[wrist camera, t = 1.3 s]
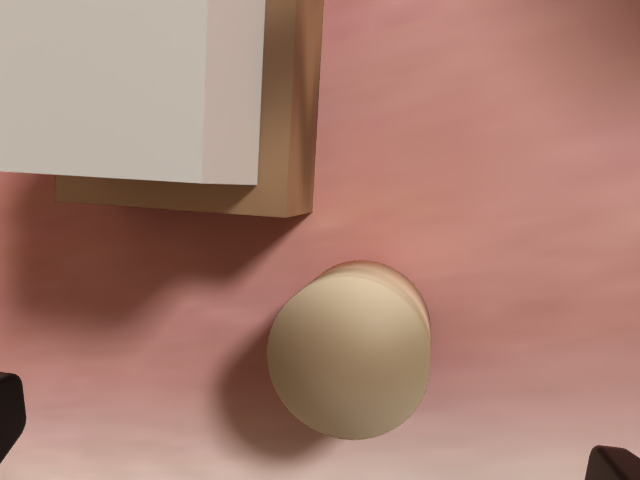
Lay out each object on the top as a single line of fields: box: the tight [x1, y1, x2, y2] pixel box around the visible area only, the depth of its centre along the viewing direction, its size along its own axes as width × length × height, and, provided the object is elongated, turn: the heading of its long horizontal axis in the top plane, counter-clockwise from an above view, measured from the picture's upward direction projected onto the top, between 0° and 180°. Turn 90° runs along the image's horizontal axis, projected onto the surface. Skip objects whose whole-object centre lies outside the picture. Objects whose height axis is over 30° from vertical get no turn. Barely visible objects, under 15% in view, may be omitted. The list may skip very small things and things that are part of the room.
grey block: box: [0, 0, 265, 185], centre depth 15 cm, size 6×6×4 cm
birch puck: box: [267, 261, 430, 440], centre depth 18 cm, size 5×5×4 cm
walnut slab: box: [55, 0, 324, 218], centre depth 18 cm, size 8×8×4 cm
